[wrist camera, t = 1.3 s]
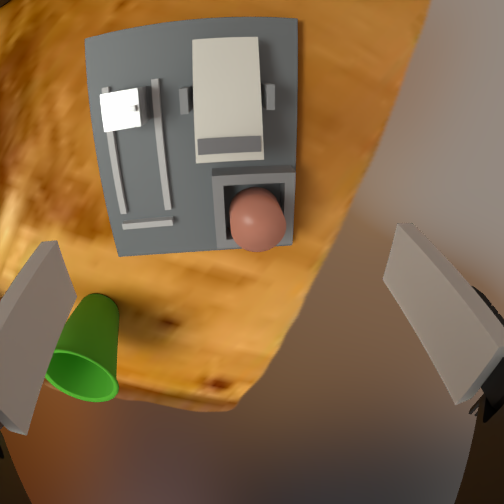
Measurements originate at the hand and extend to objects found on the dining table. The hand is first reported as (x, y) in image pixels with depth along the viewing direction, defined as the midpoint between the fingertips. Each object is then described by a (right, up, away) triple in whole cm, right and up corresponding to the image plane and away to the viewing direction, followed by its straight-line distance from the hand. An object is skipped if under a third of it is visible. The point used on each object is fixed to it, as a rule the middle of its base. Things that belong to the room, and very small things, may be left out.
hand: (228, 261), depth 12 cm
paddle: (-1, +12, +10) cm, 16 cm away
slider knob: (-9, +13, +12) cm, 20 cm away
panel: (-4, +10, +15) cm, 19 cm away
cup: (-18, -7, +25) cm, 31 cm away
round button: (+1, +4, +16) cm, 17 cm away
